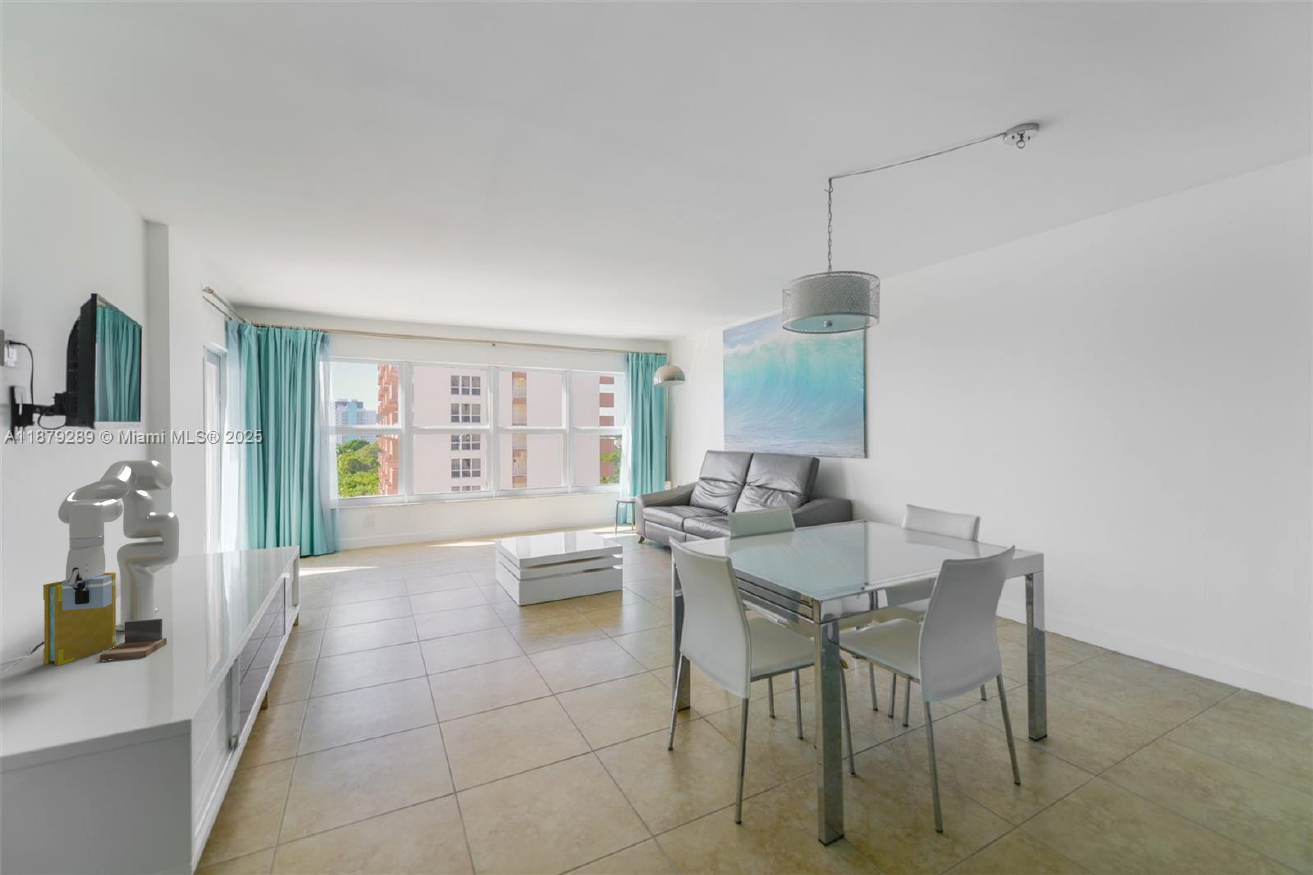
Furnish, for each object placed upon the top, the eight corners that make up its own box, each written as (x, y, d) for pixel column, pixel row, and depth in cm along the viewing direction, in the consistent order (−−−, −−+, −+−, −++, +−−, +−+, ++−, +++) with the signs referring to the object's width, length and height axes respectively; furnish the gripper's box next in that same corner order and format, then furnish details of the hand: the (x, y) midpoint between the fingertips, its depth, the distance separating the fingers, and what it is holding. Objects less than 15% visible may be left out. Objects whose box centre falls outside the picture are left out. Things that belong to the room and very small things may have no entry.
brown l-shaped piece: (123, 647, 188) (123, 621, 188) (166, 643, 192) (166, 617, 192) (100, 661, 177) (100, 633, 177) (146, 656, 180) (145, 629, 180)
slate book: (71, 606, 172) (71, 577, 172) (111, 603, 175) (111, 575, 175) (62, 610, 168) (62, 580, 168) (103, 607, 171) (103, 578, 171)
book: (59, 665, 174) (59, 585, 174) (43, 663, 175) (43, 584, 175) (121, 645, 190) (121, 572, 190) (106, 644, 192) (105, 572, 192)
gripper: (90, 538, 178) (90, 594, 179) (51, 548, 162) (51, 611, 163) (119, 536, 180) (119, 592, 181) (83, 547, 164) (83, 608, 165)
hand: (87, 600), depth 172 cm, fingers closed on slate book, 4 cm apart
